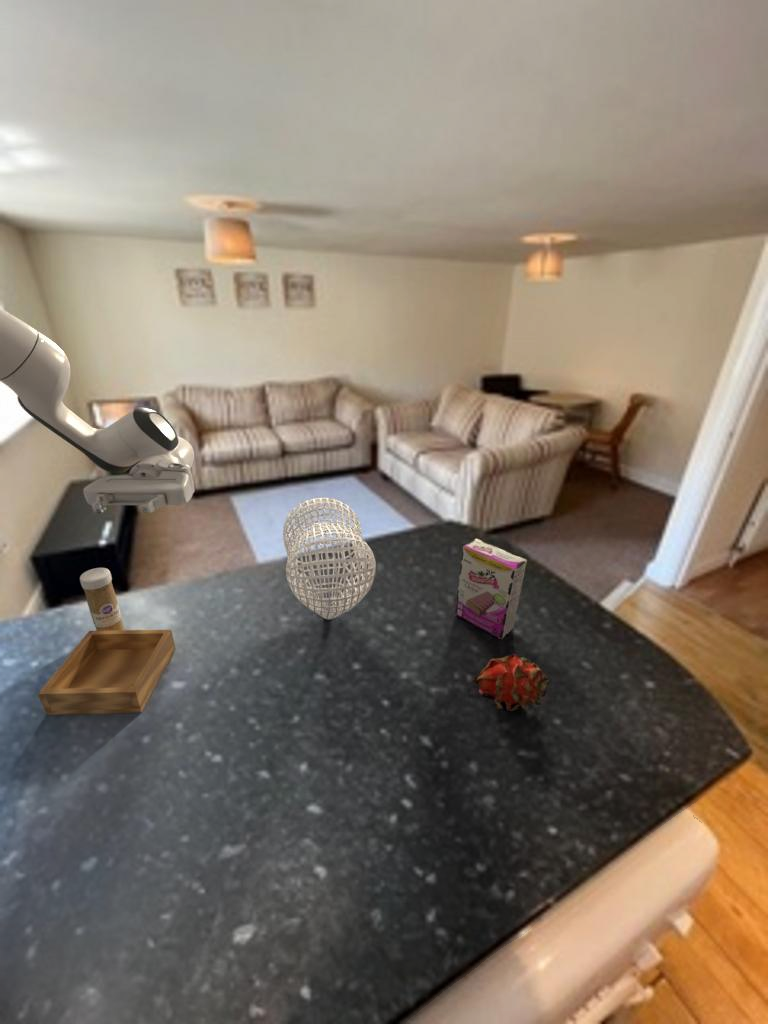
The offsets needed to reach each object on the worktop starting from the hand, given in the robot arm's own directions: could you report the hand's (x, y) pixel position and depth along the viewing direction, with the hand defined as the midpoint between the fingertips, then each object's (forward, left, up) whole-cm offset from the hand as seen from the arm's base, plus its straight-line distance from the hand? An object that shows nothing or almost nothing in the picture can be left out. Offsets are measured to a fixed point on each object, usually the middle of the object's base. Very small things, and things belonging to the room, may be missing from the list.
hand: (121, 509), depth 86 cm
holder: (+5, -23, -20) cm, 31 cm away
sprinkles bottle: (-1, -12, -21) cm, 24 cm away
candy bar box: (+70, -10, -21) cm, 74 cm away
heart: (+39, -7, -21) cm, 45 cm away
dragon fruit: (+69, -29, -21) cm, 78 cm away
